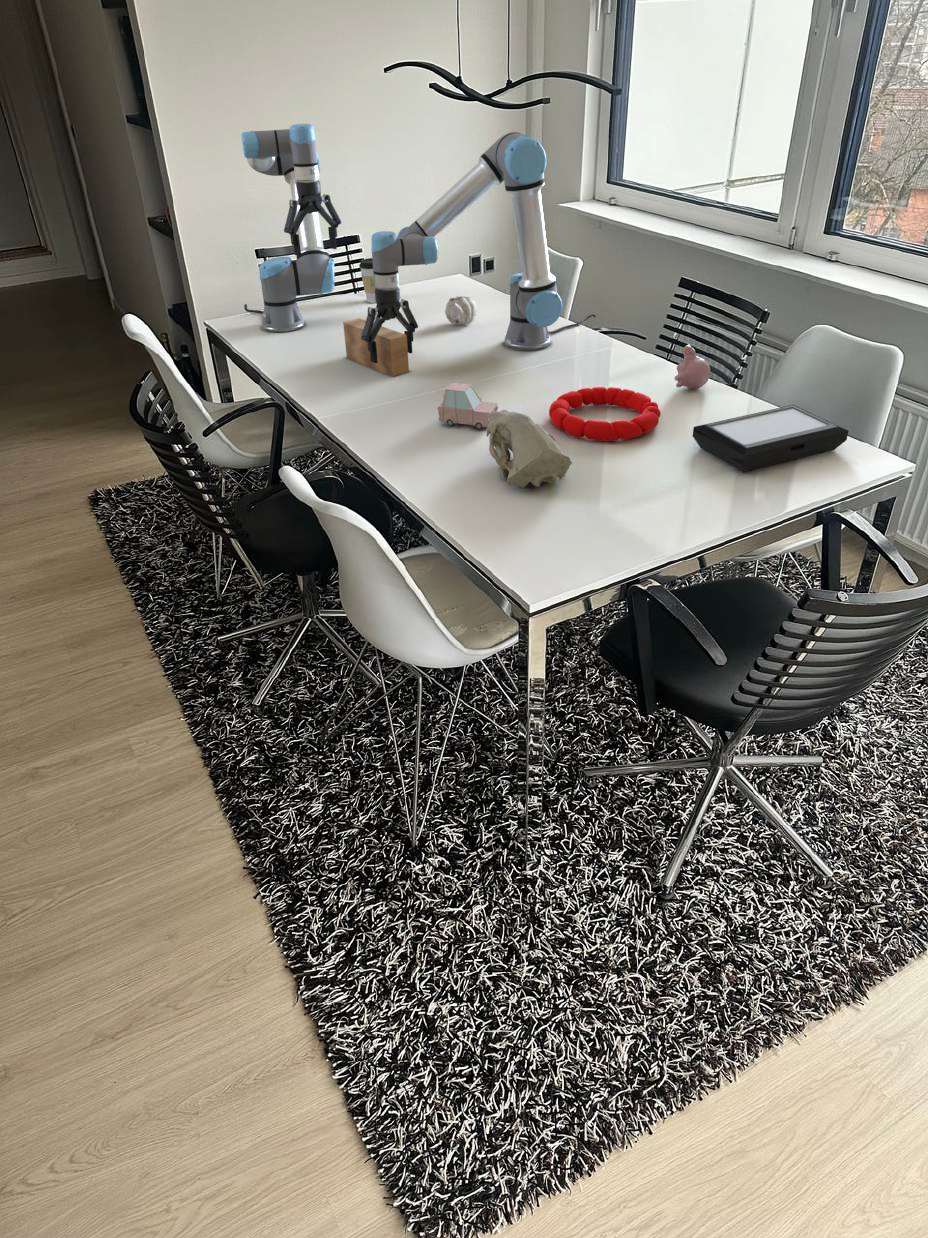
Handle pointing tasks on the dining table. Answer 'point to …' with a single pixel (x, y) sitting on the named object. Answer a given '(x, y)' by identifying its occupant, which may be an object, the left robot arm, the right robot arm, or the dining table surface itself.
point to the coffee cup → (368, 279)
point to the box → (388, 348)
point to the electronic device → (769, 437)
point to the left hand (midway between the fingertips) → (316, 252)
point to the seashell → (461, 310)
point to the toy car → (465, 406)
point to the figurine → (692, 370)
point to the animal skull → (525, 450)
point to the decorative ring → (604, 428)
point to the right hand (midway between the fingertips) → (391, 357)
